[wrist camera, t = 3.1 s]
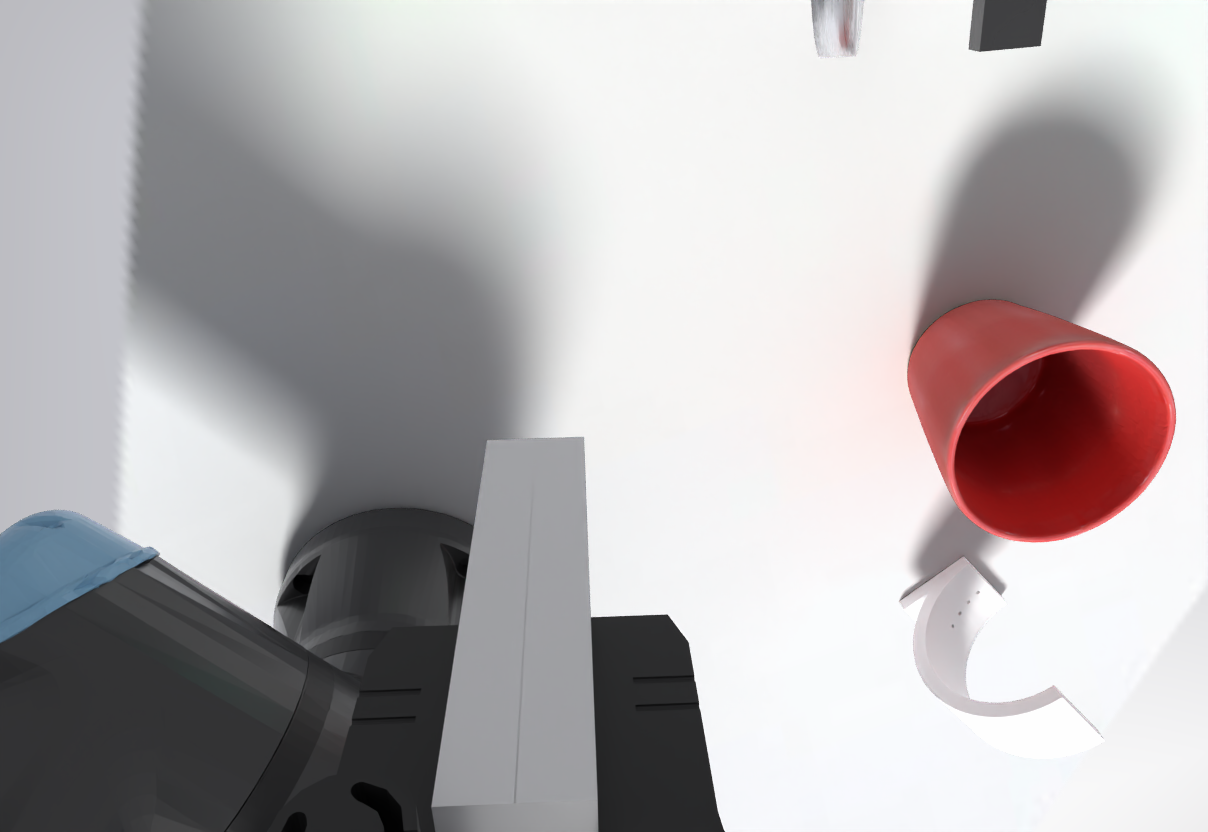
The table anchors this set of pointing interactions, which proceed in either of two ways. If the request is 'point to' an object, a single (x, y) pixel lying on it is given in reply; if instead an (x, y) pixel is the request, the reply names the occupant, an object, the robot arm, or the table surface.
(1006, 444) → the flower pot
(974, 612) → the headphone stand
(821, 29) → the lid
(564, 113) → the table surface
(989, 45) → the pot
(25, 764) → the robot arm
